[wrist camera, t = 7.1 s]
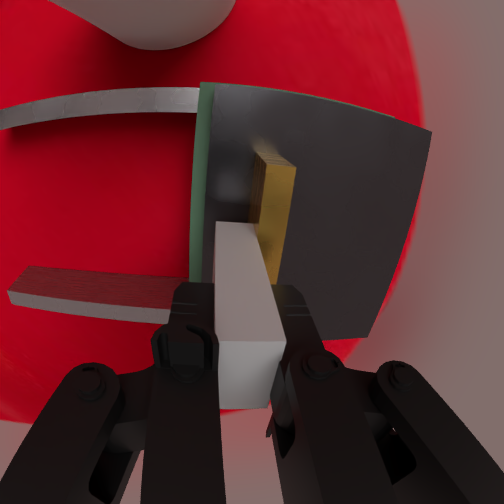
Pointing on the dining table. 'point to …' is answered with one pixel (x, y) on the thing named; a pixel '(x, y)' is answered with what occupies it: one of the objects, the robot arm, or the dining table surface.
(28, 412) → the dining table surface
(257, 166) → the cover
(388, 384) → the robot arm
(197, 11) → the cup
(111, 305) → the bracket
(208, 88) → the green rectangular box
